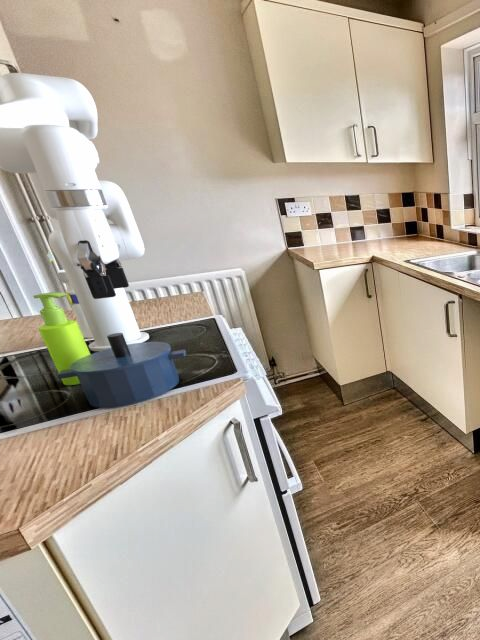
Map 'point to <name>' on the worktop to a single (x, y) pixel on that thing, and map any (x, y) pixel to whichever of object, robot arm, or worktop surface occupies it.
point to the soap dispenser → (61, 336)
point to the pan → (129, 382)
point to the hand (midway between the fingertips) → (112, 292)
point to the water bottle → (73, 302)
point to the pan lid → (120, 356)
